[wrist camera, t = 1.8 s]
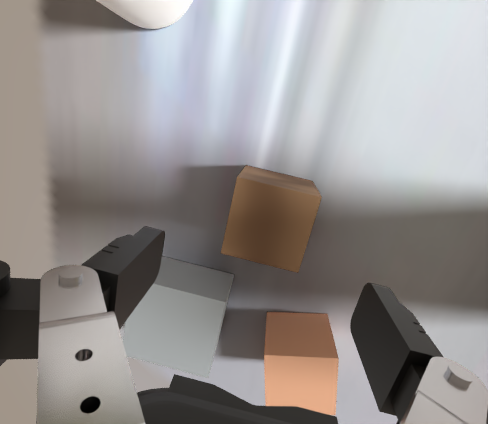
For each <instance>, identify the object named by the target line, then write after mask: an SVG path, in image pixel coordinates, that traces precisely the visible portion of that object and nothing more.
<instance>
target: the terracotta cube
mask: <svg viewBox="0 0 488 424" xmlns="http://www.w3.org/2000/svg"><path fill="white" fill-rule="evenodd" d="M338 359H339V358H338V354H337V350H336V346H335V342H334V339H333V335H332V331H331V327H330V323H329V319H328V315H327V314H320V313H286V312H267V318H266V334H265V350H264V366H265V399H266V406H297V407H301V408H305V409H309V410H312V411H316V412H320V413H324V414H328V415H335V412H336V394H337V376H338Z"/></svg>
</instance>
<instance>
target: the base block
mask: <svg viewBox="0 0 488 424" xmlns="http://www.w3.org/2000/svg"><path fill="white" fill-rule="evenodd" d="M233 277H234V274H230V273H226V272H222V271H219V270H215V269H211V268H207V267H203V266H199V265H195V264H191V263H187V262H183V261H179V260H175V259H171V258H167V257H163V256H162V258H161V265H160V270H159V273H158V276H157V278H156V280H155V282H154V283H153V285H152V286H151V287H150V289H149V290H148V292H147V293H146V294H145V296H144V297H143V298H142V300H141V301H140V302H139V304H138V305H137V307H136V308H135V309H134V311H133V312H132V313H131V315H130V316H129V317H128V319H127V320H126V321H125V327H124V336H123V345H124V348H125V352H126V355H127V357H131V358H135V359H138V360H142V361H146V362H149V363H153V364H157V365H160V366H164V367H168V368H172V369H175V370H179V371H183V372H186V373H190V374H194V375H197V376H201V377H205V378H208V377H209V373H210V370H211V366H212V363H213V359H214V355H215V352H216V348H217V344H218V341H219V336H220V332H221V328H222V324H223V319H224V315H225V311H226V307H227V303H228V298H229V294H230V290H231V286H232V281H233Z"/></svg>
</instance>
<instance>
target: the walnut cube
mask: <svg viewBox="0 0 488 424" xmlns="http://www.w3.org/2000/svg"><path fill="white" fill-rule="evenodd" d="M321 198H322V197H321V195H320V193H319V191H318V190H317V188H316V186H315V184H314V183H313V181H310V180H306V179H302V178H298V177H294V176H289V175H285V174H281V173H277V172H273V171H269V170H264V169H260V168H256V167H252V166H248V165H246V166H245V167H244V168H243V170H242V171H241V172H240V174H239V175H238V176H237V180H236V184H235V189H234V194H233V198H232V203H231V207H230V212H229V217H228V221H227V226H226V231H225V235H224V240H223V245H222V249H221V253H222V254H225V255H229V256H233V257H237V258H241V259H245V260H249V261H253V262H257V263H261V264H265V265H269V266H273V267H277V268H281V269H285V270H289V271H293V272H297V273H298V272H299V269H300V266H301V262H302V259H303V256H304V253H305V249H306V246H307V243H308V240H309V237H310V233H311V230H312V227H313V224H314V221H315V217H316V214H317V211H318V208H319V205H320V201H321Z"/></svg>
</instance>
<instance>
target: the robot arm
mask: <svg viewBox="0 0 488 424" xmlns="http://www.w3.org/2000/svg"><path fill="white" fill-rule="evenodd" d="M164 239H165V232H164V231H162V230H158V229H154V228H150V227H146V226H145V227H143V228H142V229H141V230H140V231H139V232H137V233H136V234H135V235H134V236H132V235H126V236H123V237H120V238H116V239H115V240H114V241H112V242H111V243H110V244H108V246H106V247H104V248H103V249H102V251H99V252H98V253H96V254H95V255H94V256H93V257H91V258H90V259H89V260H87V261H86V262H85V263H83V264H82V265H65V266H60V267H56V268H54V269H51V270H49V271H47V272H46V273H45V274H44V275H43V276H42V278H41V279H23V278H10V267H9V265H8V264H7V263H5V262H3V261H0V366H1V365H2V364H3V363H4V362H5V361H6V360H7V359H38V384H37V385H38V387H37V388H38V389H37V421H36V423H37V424H338V421H337V417H335V416H331V415H328V414H324V413H320V412H316V411H312V410H309V409H305V408H301V407H297V406H255V405H252V404H250V403H248V402H246V401H244V400H242V399H240V398H238V397H236V396H234V395H233V394H231V393H229V392H227V391H225V390H223V389H221V388H219V387H217V386H215V385H213V384H209V383H205V382H202V381H198V380H194V379H190V378H186V377H182V376H179V375H175V374H174V377H173V379H172V382H171V384H170V387H169V388H158V389H150V390H145V391H141V392H138V393H137V392H136V388H135V384H134V381H133V377H132V373H131V370H130V366H129V363H128V359H127V355H126V352H125V348H124V345H123V341H122V337H121V334H120V328H121V327H122V326H123V324H124V323H125V321H126V320H127V319H128V317H129V316H130V315H131V313H132V312H133V311H134V309H135V308H136V307H137V305H138V304H139V302H140V301H141V300H142V298H143V297H144V296H145V294H146V293H147V292H148V290H149V289H150V287H151V286H152V285H153V283H154V282H155V280H156V278H157V276H158V273H159V270H160V265H161V258H162V252H163V245H164ZM351 333H352V336H353V339H354V342H355V345H356V347H357V350H358V353H359V356H360V358H361V361H362V364H363V367H364V369H365V372H366V375H367V378H368V381H369V383H370V386H371V389H372V392H373V394H374V397H375V400H376V403H377V406H378V408H379V411H380V412H384V413H388V414H392V415H395V416H397V418H398V421H397V423H396V424H488V390H487V388H486V386H485V385H484V384H483V382H482V381H481V380H480V379H479V378H478V377H477V376H476V375H475V374H473V373H472V372H471V371H470V370H468V369H467V368H465V367H464V366H462V365H460V364H459V363H457V362H455V361H452V360H450V359H447V358H444V357H443V356H442V354H441V353H440V351H439V350H438V349H437V347H436V346H435V344H434V343H433V342H432V340H431V339H430V337H429V336H428V335H427V334H426V332H425V330H424V329H423V327H422V326H420V323H419V322H418V320H417V319H416V318H415V316H414V315H413V314H412V313H411V312H410V311H409V310H408V309H407V308H405V307H404V306H403V305H402V304H400V303H399V301H398V300H397V298H396V297H395V295H394V294H393V292H392V291H391V289H390V288H388V287H385V286H381V285H377V284H373V283H367V284H366V285H365V286H364V288H363V290H362V293H361V295H360V298H359V300H358V303H357V305H356V308H355V310H354V313H353V315H352V318H351Z"/></svg>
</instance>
